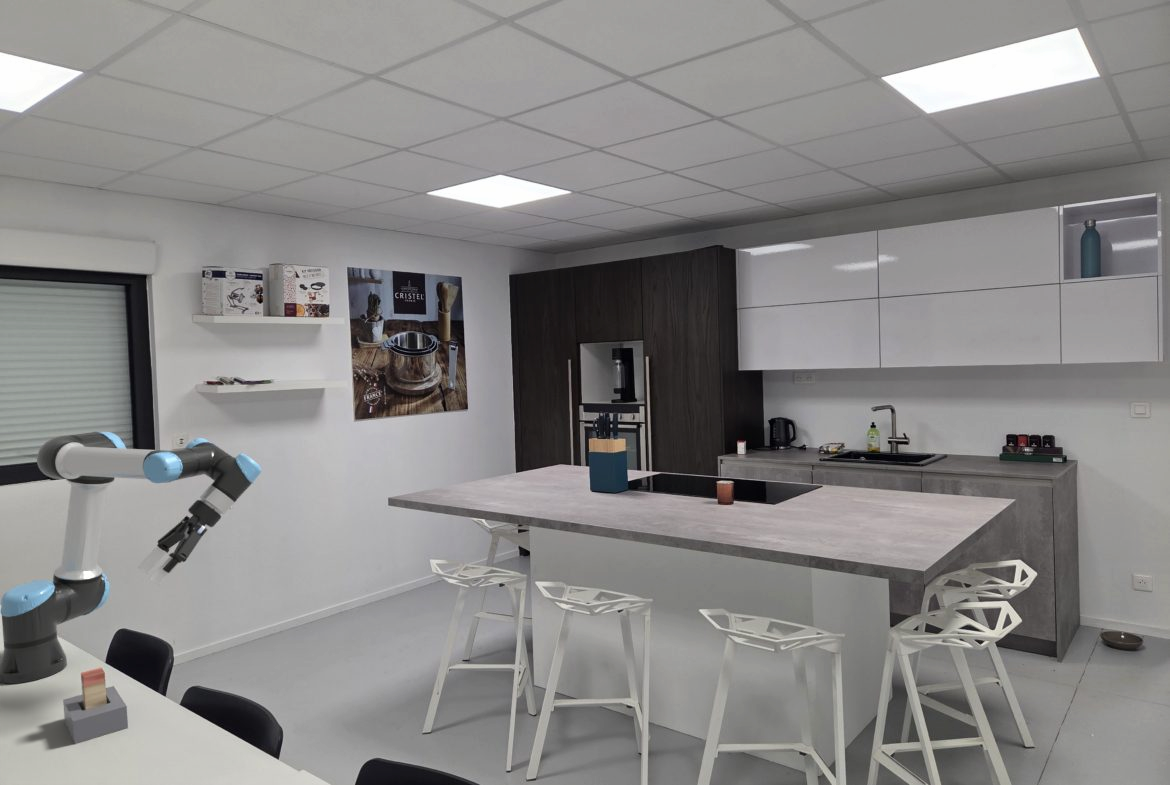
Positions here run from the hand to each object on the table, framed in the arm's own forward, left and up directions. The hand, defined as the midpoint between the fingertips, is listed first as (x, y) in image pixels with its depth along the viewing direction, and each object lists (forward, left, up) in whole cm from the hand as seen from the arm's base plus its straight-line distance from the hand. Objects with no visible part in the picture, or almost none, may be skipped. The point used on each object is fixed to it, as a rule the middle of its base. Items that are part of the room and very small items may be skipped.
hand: (147, 576), depth 187 cm
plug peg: (+9, -14, -29) cm, 34 cm away
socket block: (+9, -14, -29) cm, 34 cm away
